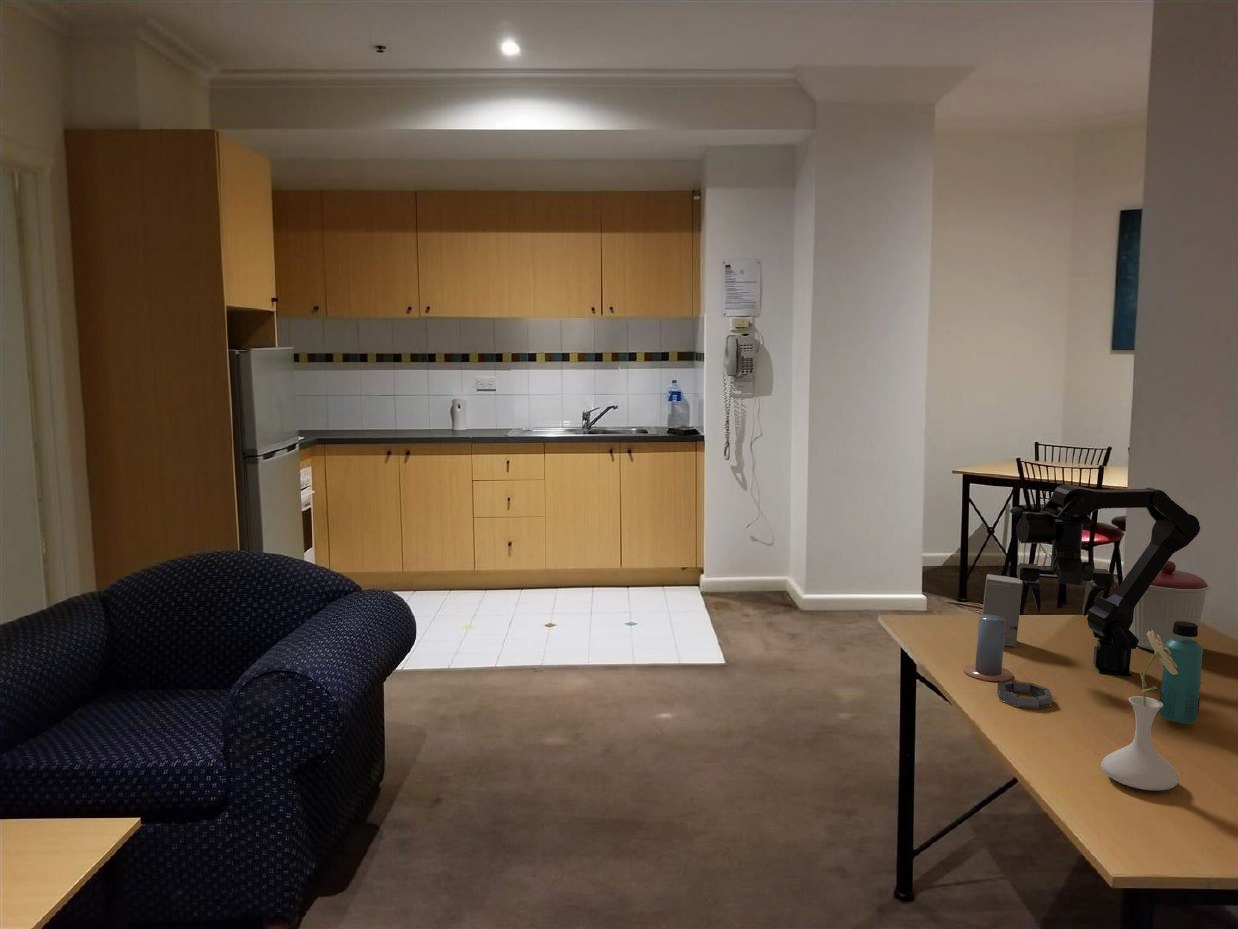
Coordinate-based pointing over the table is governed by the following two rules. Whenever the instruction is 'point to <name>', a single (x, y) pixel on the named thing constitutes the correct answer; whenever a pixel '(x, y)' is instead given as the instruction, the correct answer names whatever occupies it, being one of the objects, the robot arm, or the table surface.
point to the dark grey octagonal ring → (1023, 701)
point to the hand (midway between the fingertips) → (1061, 613)
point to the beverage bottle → (1182, 676)
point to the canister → (1168, 604)
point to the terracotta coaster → (972, 673)
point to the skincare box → (1004, 603)
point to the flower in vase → (1144, 738)
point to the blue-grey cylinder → (990, 645)
